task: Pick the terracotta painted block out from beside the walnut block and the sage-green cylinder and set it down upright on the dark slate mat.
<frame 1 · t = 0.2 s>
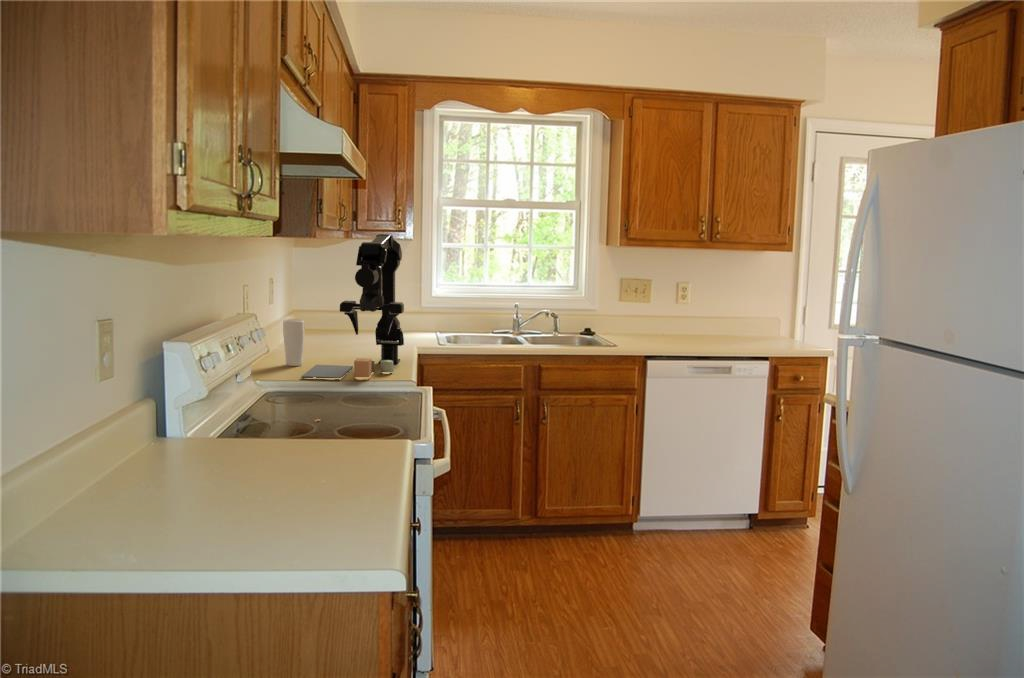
hand: (372, 335, 242), 14 cm above the table, fingers open, 9 cm apart
terracotta block: (362, 378, 245), on the table
slate mat: (327, 373, 250), on the table
sage cylinder: (386, 373, 254), on the table
walnut block: (367, 374, 252), on the table
drinking glass: (294, 365, 262), on the table
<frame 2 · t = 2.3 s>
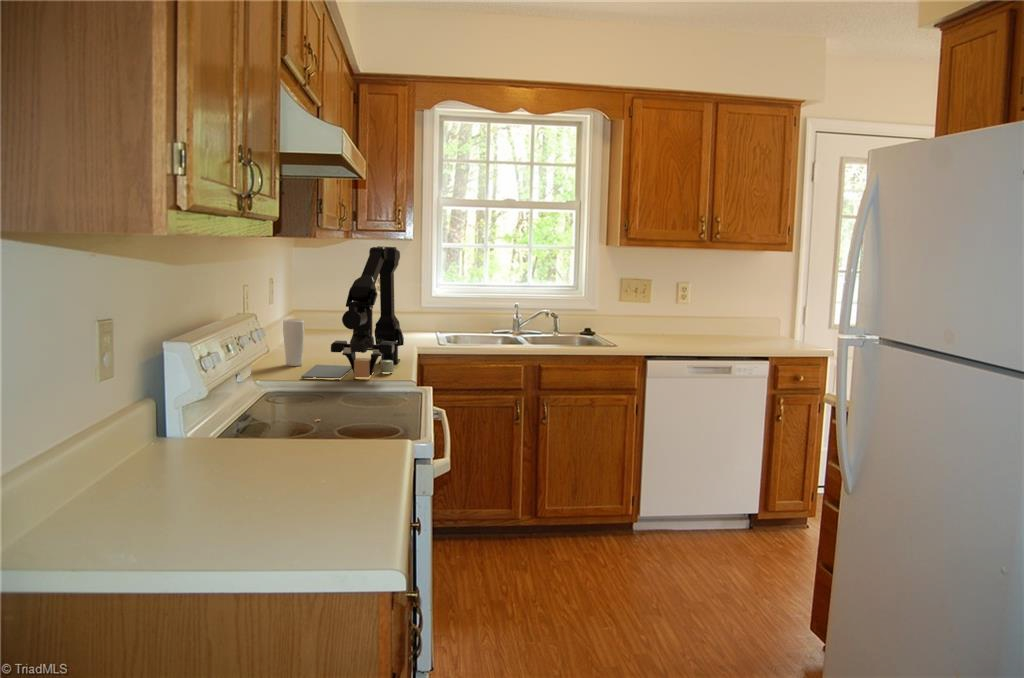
hand: (362, 374, 245), 1 cm above the table, fingers closed on terracotta block, 4 cm apart
terracotta block: (362, 378, 245), on the table, touching gripper
everything else where it was.
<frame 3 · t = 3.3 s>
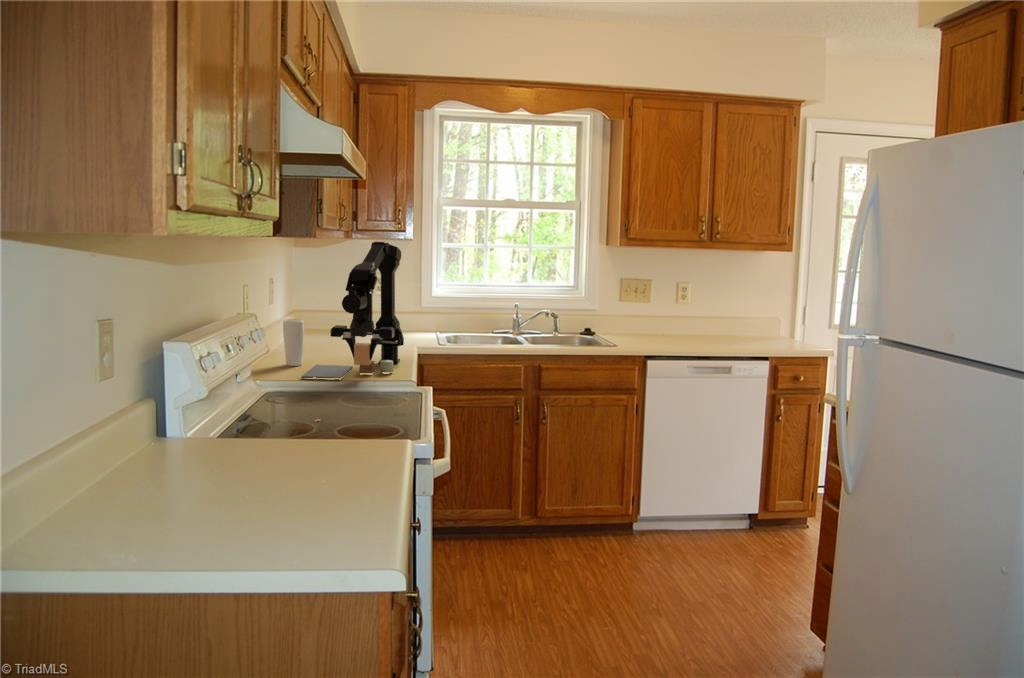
hand: (362, 359, 244), 6 cm above the table, fingers closed on terracotta block, 4 cm apart
terracotta block: (362, 363, 244), point 5 cm above the table, touching gripper
everything else where it was.
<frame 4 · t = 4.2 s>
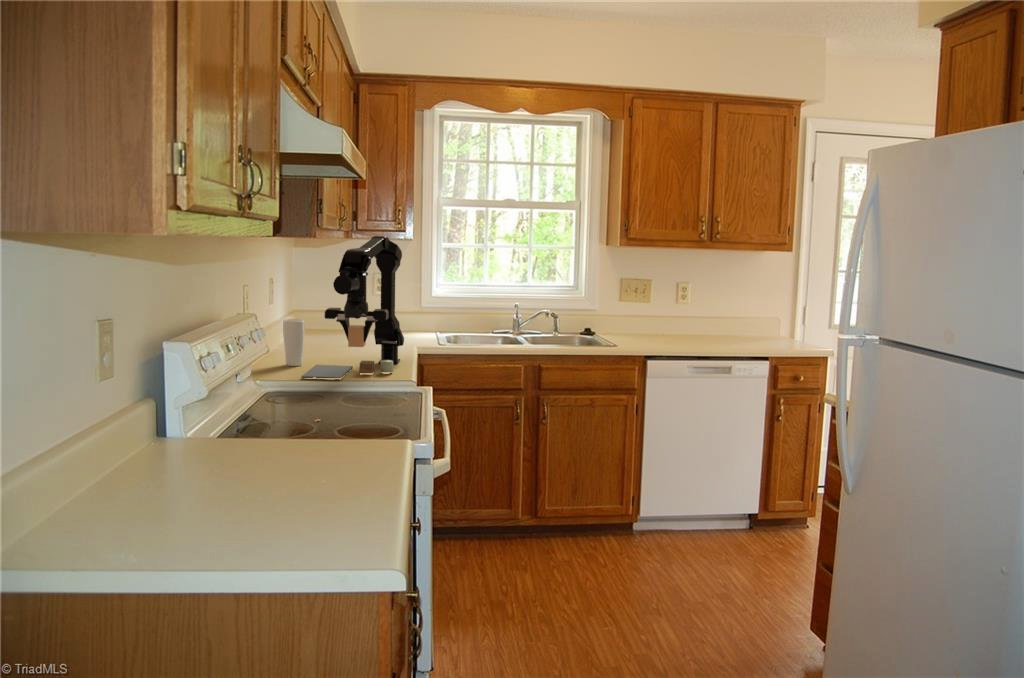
hand: (356, 341, 244), 11 cm above the table, fingers closed on terracotta block, 4 cm apart
terracotta block: (357, 345, 244), point 10 cm above the table, touching gripper
everything else where it was.
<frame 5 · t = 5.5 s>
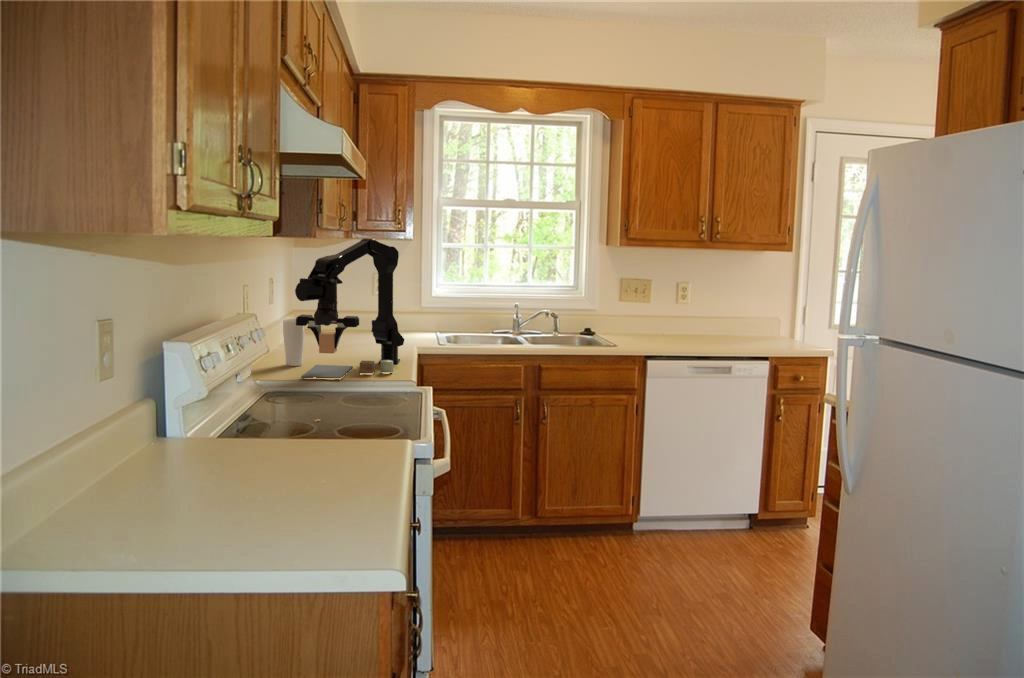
hand: (328, 348, 249), 8 cm above the table, fingers closed on terracotta block, 4 cm apart
terracotta block: (328, 351, 249), point 7 cm above the table, touching gripper
everything else where it was.
when the fingers open (4 cm above the table, at t = 6.6 s): terracotta block drops 1 cm, resting on slate mat.
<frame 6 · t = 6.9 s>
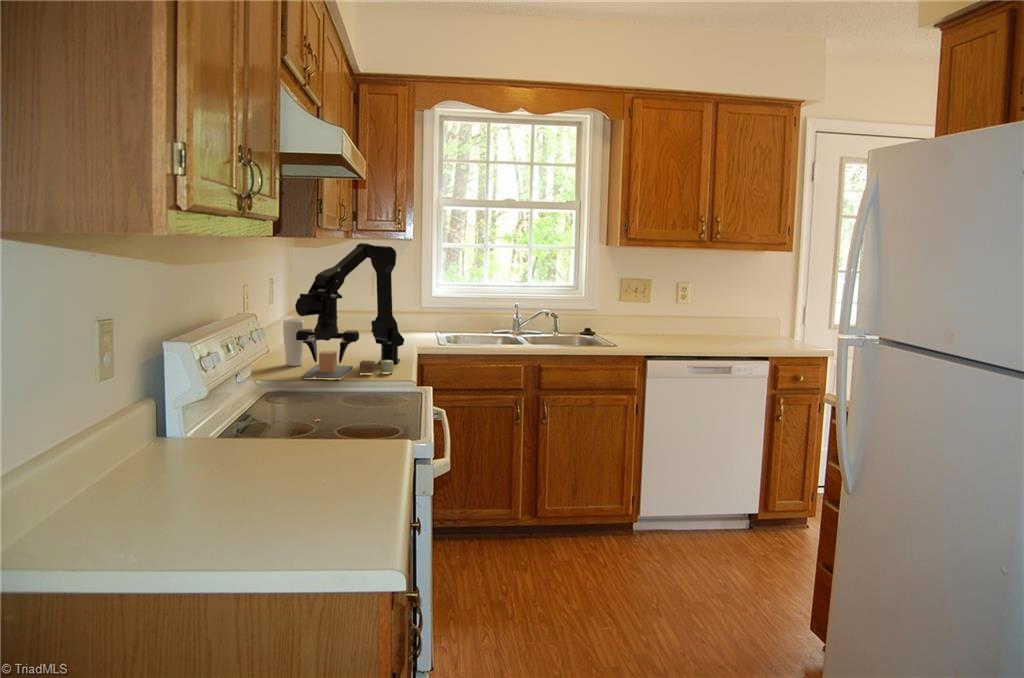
hand: (327, 362, 249), 4 cm above the table, fingers open, 7 cm apart
terracotta block: (328, 370, 250), point 1 cm above the table, touching slate mat
everything else where it was.
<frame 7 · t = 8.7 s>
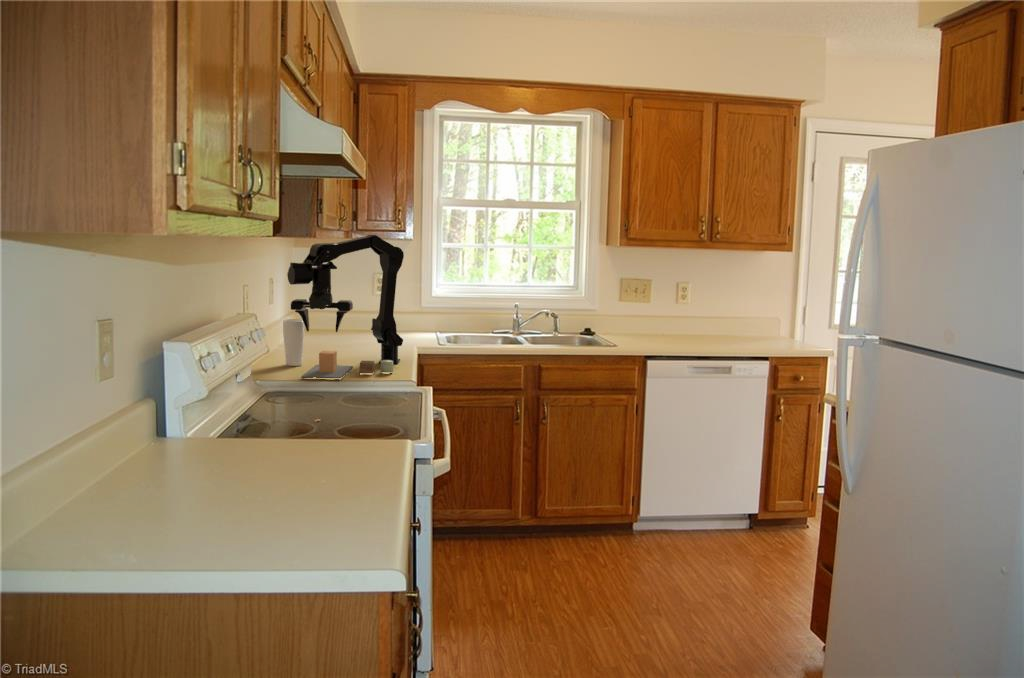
hand: (322, 331, 255), 12 cm above the table, fingers open, 9 cm apart
nothing on the table moved.
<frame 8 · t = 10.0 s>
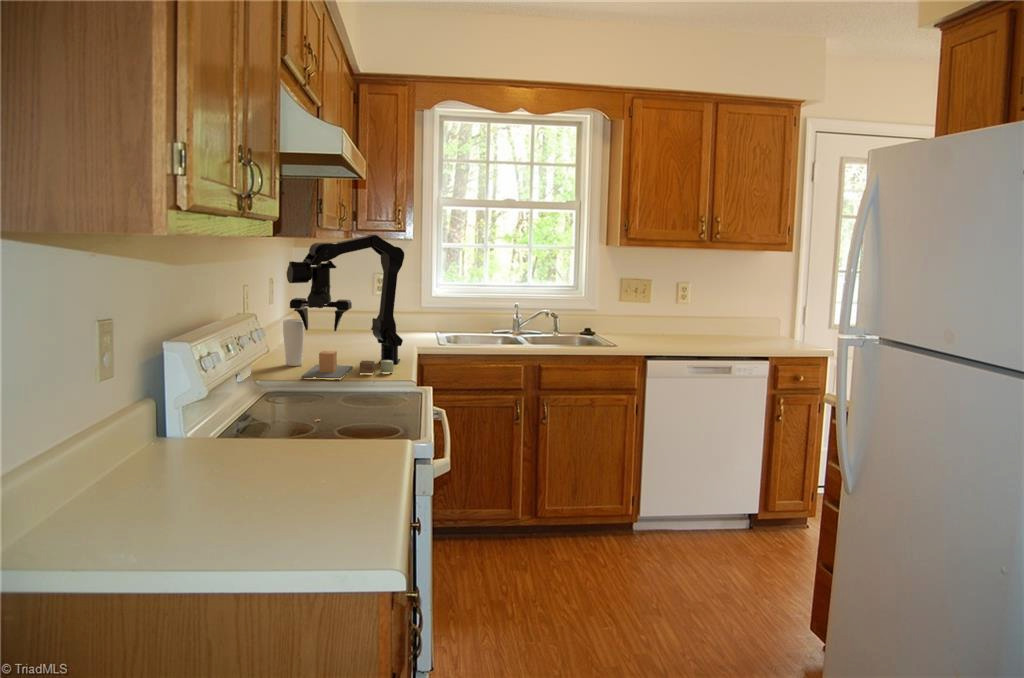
hand: (321, 330, 256), 13 cm above the table, fingers open, 9 cm apart
nothing on the table moved.
at the end: terracotta block inside the target area on the slate mat (0.0 cm from its centre), point 1.0 cm above the slate mat's base; terracotta block tilted 0°; the gripper is holding nothing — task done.
